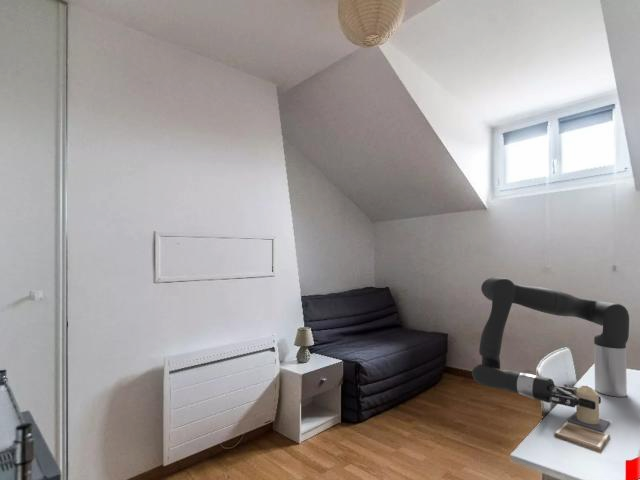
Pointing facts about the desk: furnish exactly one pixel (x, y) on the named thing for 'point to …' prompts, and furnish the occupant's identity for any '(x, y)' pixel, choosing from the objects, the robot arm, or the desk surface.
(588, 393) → the candle
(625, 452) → the desk surface
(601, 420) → the pad
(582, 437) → the board
